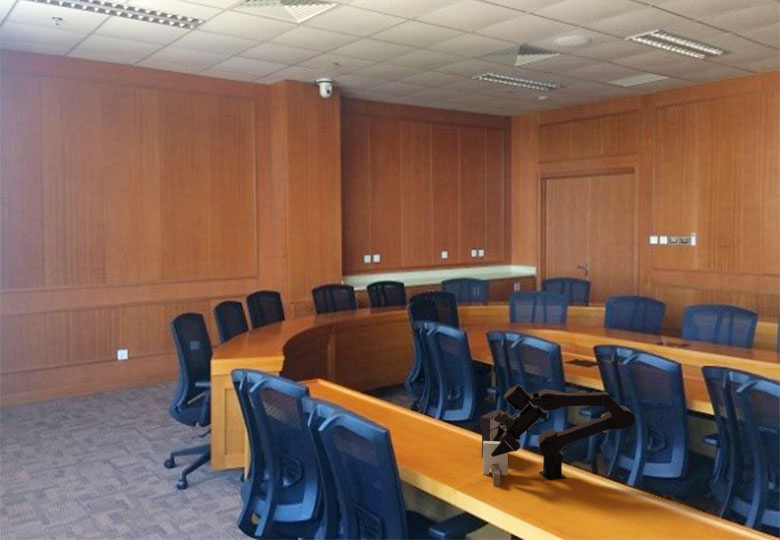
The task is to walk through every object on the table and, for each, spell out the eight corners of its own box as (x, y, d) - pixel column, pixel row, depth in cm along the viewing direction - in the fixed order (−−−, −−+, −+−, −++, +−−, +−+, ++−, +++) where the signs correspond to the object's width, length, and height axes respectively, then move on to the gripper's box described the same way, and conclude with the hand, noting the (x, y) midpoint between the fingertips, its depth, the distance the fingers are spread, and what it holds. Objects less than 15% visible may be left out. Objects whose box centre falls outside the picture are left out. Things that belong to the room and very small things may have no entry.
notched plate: (506, 472, 223) (507, 441, 222) (507, 475, 220) (507, 444, 219) (482, 471, 223) (483, 440, 223) (483, 474, 221) (483, 443, 220)
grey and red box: (490, 460, 234) (491, 418, 233) (480, 458, 237) (480, 416, 236) (505, 452, 243) (505, 411, 242) (494, 449, 245) (495, 410, 245)
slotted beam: (490, 461, 233) (490, 450, 232) (496, 462, 233) (496, 450, 232) (493, 485, 211) (493, 473, 211) (500, 486, 211) (500, 473, 210)
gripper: (505, 395, 229) (473, 425, 231) (510, 409, 211) (474, 442, 212) (528, 418, 229) (496, 448, 231) (535, 434, 210) (499, 467, 212)
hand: (491, 451), depth 221 cm, fingers open, 9 cm apart
